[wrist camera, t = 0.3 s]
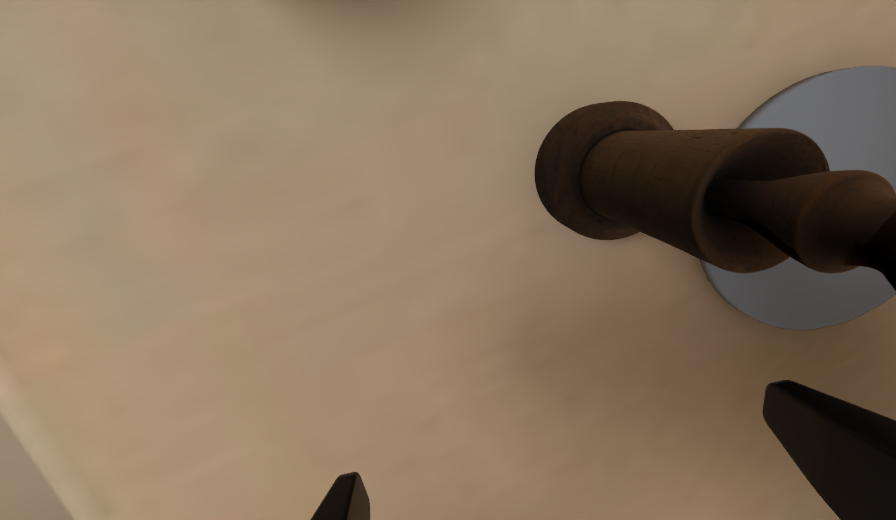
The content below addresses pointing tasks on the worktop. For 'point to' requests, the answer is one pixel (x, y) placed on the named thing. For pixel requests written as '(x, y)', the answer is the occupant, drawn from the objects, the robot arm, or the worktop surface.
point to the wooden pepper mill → (715, 192)
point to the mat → (846, 148)
